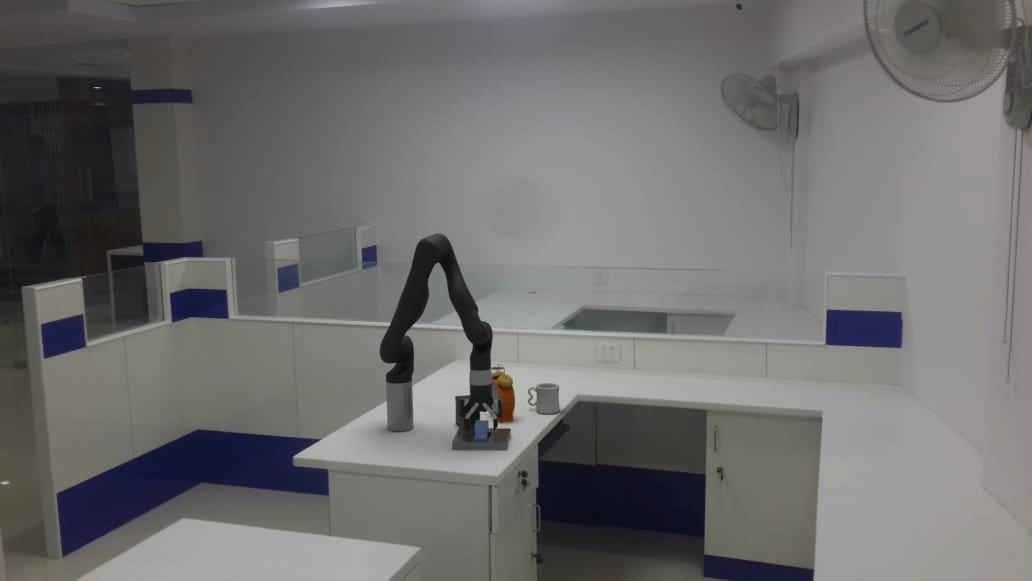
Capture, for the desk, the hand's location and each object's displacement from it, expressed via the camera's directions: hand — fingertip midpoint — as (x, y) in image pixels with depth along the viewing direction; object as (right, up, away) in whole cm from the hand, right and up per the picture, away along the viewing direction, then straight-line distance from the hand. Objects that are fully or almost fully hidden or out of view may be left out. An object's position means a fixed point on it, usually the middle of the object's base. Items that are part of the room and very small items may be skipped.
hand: (481, 429), depth 288 cm
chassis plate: (0, -5, +1) cm, 5 cm away
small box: (-6, -3, +19) cm, 20 cm away
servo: (0, -5, 0) cm, 5 cm away
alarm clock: (+6, -1, +29) cm, 30 cm away
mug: (+22, 0, +38) cm, 44 cm away
